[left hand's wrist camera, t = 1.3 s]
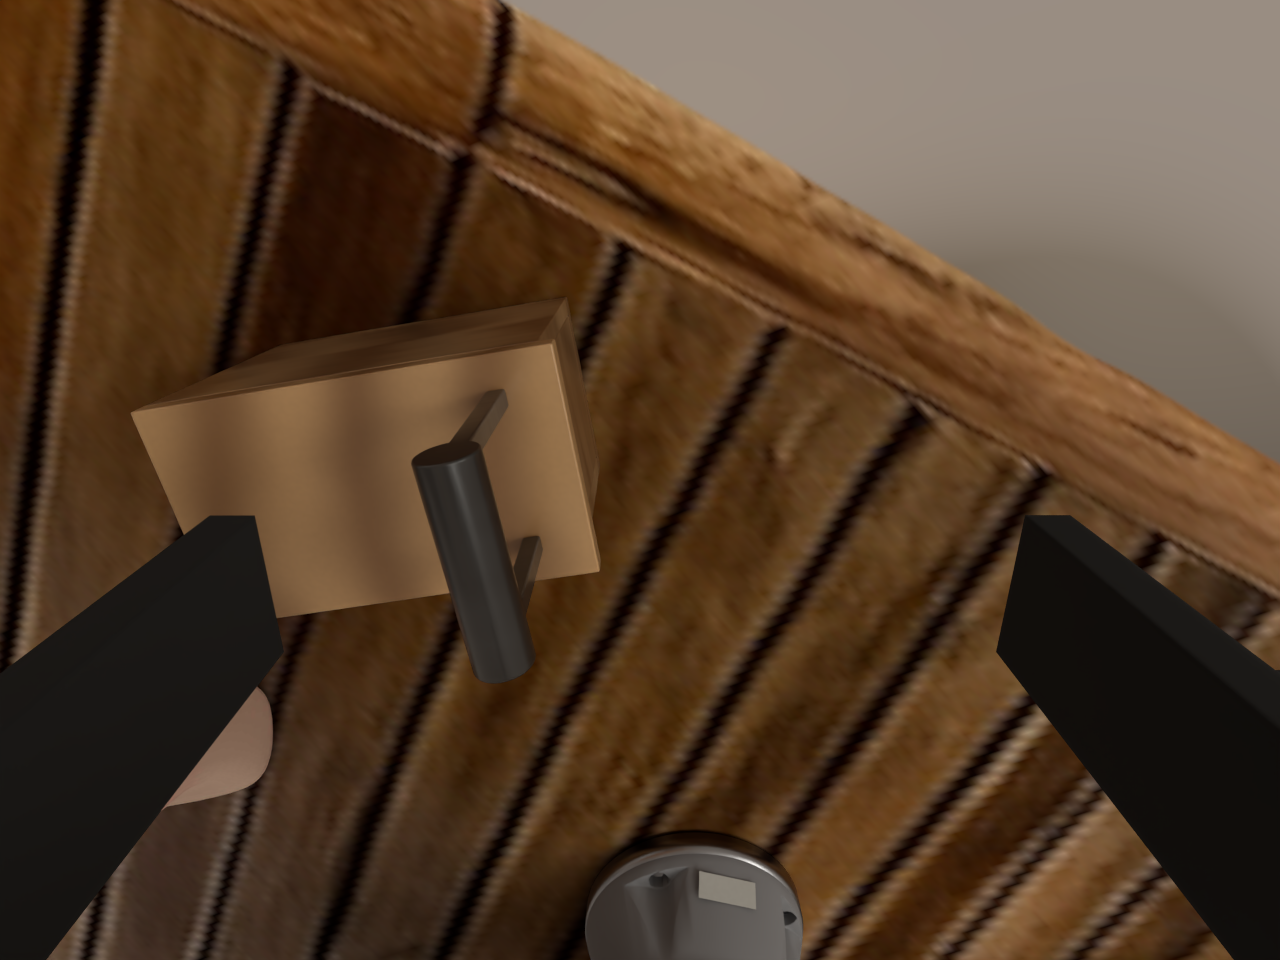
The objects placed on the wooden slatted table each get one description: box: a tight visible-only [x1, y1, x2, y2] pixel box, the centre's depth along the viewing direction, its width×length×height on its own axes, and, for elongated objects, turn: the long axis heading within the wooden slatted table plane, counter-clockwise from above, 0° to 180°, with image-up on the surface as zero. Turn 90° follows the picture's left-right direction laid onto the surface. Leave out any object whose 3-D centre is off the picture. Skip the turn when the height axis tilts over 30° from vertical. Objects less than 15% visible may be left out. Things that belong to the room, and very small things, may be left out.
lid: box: [131, 339, 601, 683], centre depth 24 cm, size 16×9×9 cm, turn 99°
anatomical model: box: [161, 687, 273, 811], centre depth 45 cm, size 13×4×12 cm
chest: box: [148, 297, 600, 516], centre depth 34 cm, size 15×9×11 cm, turn 99°
